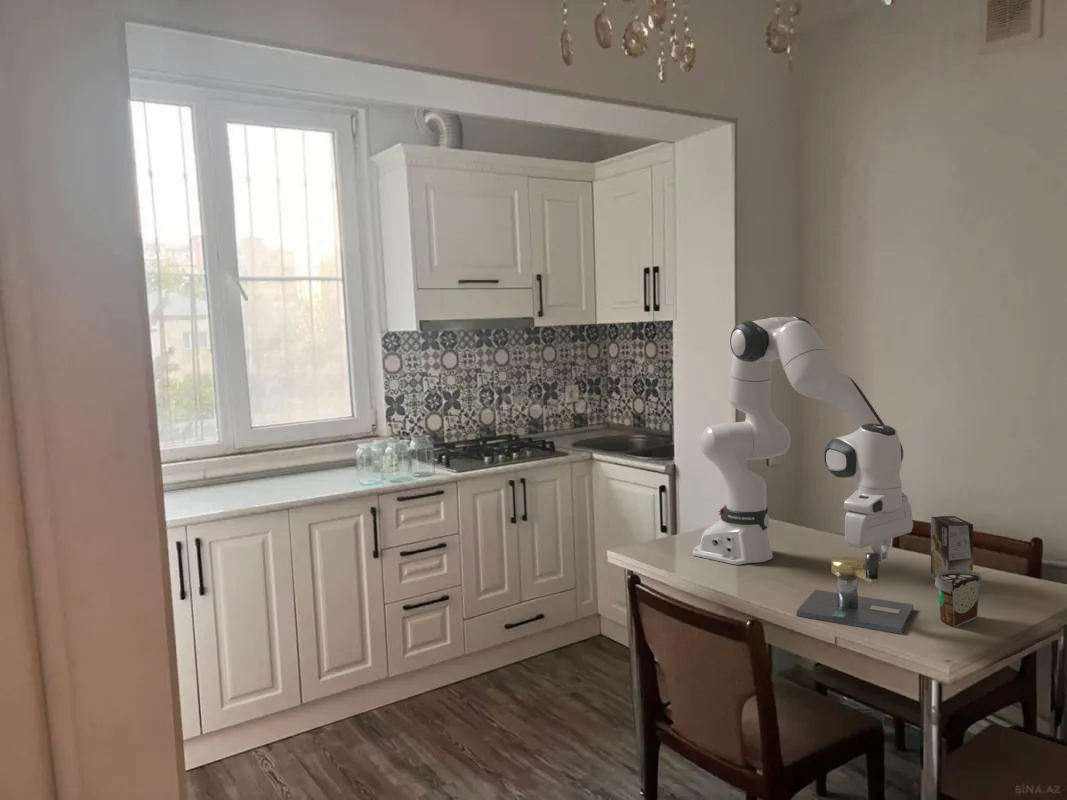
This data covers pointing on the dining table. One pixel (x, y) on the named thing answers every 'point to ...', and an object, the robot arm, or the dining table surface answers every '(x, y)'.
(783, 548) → the dining table surface
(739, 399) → the robot arm
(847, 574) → the brass crank knob
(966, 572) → the food container
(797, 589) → the dining table surface
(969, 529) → the coffee box
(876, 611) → the labelled display base
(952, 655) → the dining table surface
